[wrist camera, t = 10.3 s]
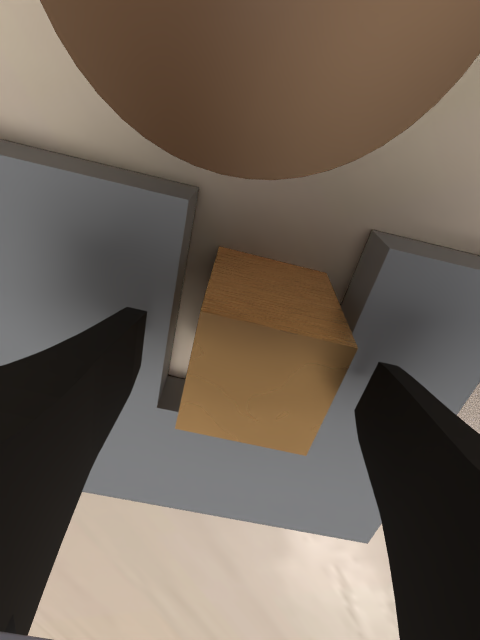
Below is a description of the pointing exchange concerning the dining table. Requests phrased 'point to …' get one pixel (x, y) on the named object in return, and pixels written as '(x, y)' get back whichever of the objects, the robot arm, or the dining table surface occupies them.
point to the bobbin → (269, 74)
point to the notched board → (162, 311)
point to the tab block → (265, 354)
